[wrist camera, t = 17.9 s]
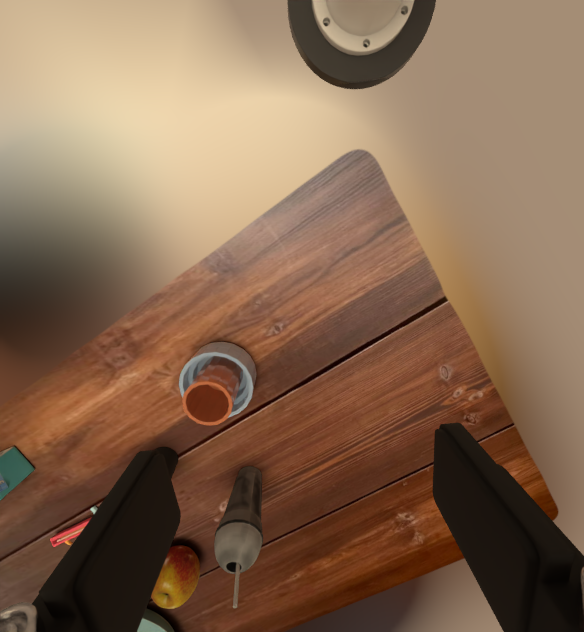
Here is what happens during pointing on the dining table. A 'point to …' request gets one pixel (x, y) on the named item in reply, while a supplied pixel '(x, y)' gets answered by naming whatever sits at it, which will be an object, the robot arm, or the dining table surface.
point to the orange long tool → (70, 532)
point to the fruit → (177, 577)
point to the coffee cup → (213, 391)
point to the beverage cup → (241, 526)
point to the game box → (12, 470)
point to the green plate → (154, 623)
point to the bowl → (232, 354)
